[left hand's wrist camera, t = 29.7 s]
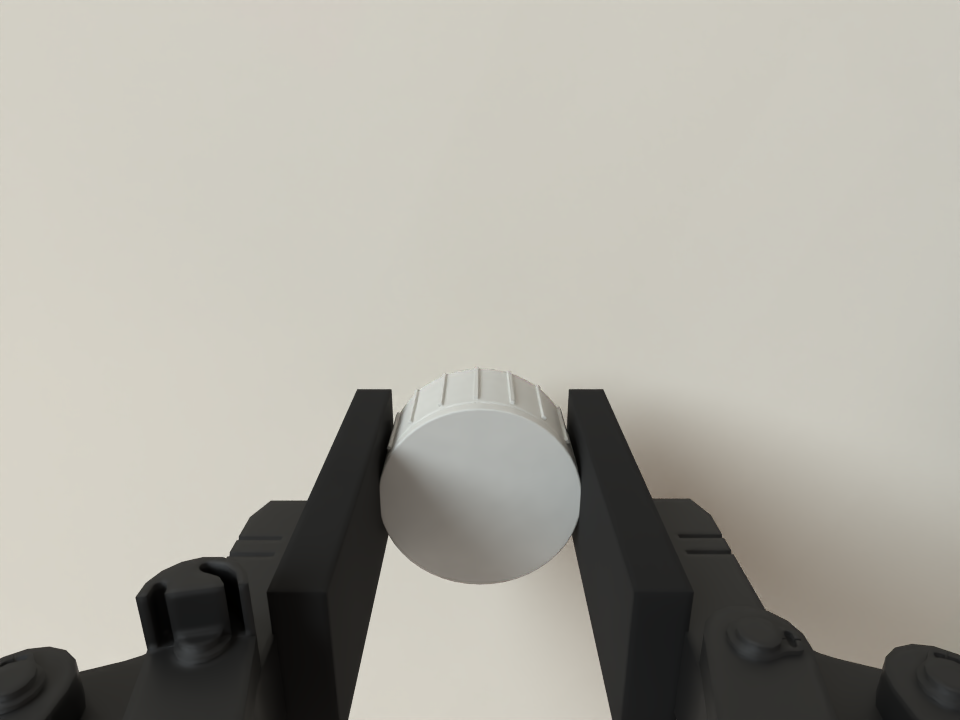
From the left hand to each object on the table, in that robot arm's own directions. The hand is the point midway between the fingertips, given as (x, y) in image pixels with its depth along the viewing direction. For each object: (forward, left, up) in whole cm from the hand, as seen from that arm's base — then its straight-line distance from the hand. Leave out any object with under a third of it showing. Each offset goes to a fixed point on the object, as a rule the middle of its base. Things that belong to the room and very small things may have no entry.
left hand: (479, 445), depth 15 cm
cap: (0, 0, +2) cm, 2 cm away
